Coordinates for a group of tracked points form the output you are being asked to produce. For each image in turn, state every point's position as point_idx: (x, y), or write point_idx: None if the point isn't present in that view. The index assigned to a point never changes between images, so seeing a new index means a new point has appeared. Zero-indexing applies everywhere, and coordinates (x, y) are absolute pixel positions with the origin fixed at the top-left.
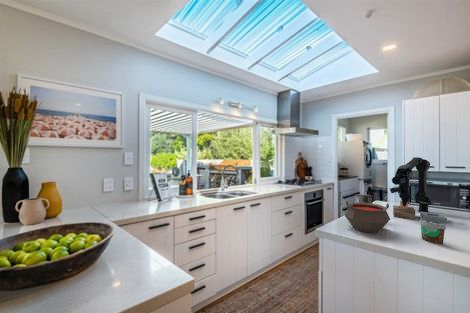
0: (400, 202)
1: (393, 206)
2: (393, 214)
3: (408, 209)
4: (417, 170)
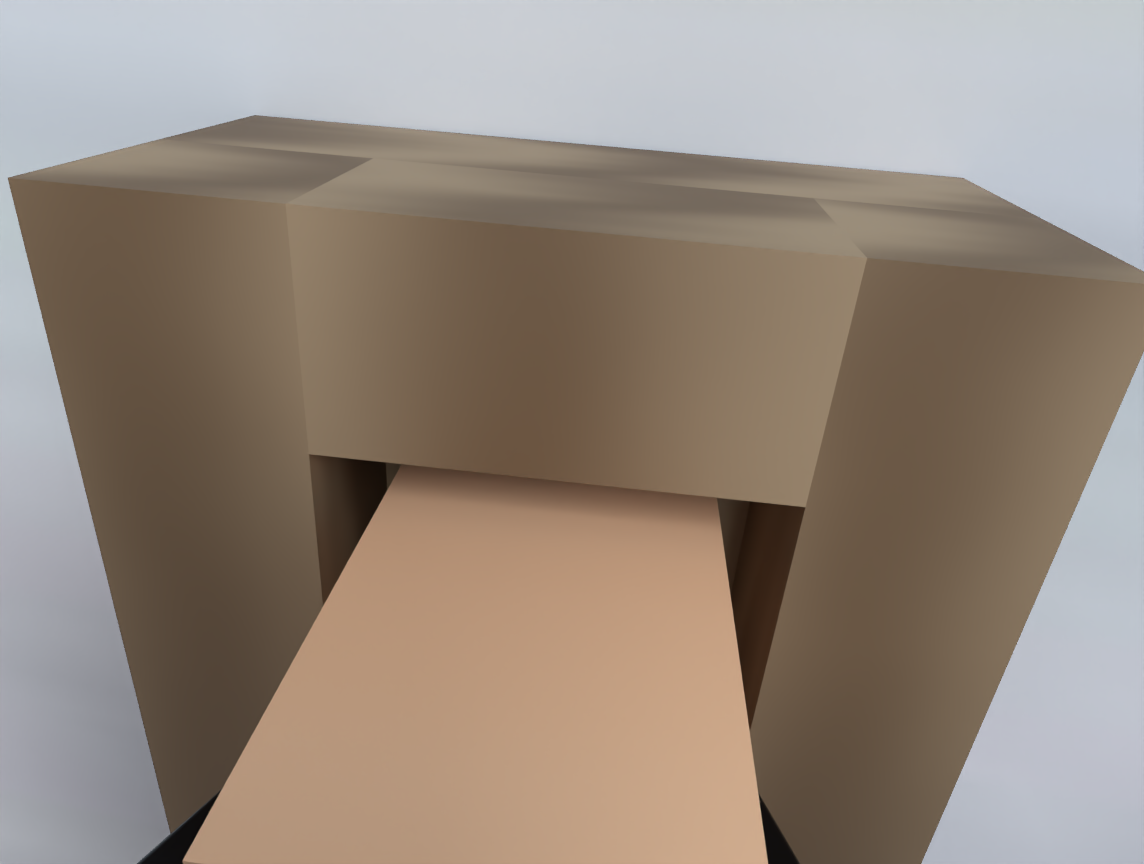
0: (223, 800)
1: (680, 240)
2: (545, 145)
3: None
4: None
